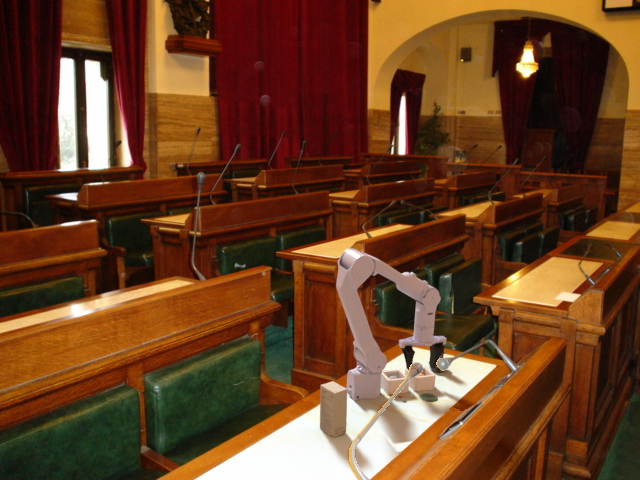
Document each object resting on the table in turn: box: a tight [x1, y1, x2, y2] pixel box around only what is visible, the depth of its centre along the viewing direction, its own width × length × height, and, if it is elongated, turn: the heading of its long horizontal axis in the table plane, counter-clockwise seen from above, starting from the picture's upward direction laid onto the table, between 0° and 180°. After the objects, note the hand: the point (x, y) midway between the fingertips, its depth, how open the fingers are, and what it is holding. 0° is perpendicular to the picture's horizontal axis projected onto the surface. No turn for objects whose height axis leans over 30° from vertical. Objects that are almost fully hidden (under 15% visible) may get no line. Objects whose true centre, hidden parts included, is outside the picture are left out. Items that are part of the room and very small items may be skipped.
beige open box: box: [404, 366, 436, 392], centre depth 186 cm, size 7×7×4 cm
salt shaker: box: [428, 344, 446, 373], centre depth 197 cm, size 6×6×12 cm
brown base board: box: [397, 393, 439, 404], centre depth 182 cm, size 16×14×2 cm
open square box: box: [381, 368, 410, 395], centre depth 184 cm, size 7×7×4 cm
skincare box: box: [319, 380, 348, 438], centre depth 161 cm, size 6×4×12 cm
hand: (420, 368), depth 185 cm, fingers open, 7 cm apart
